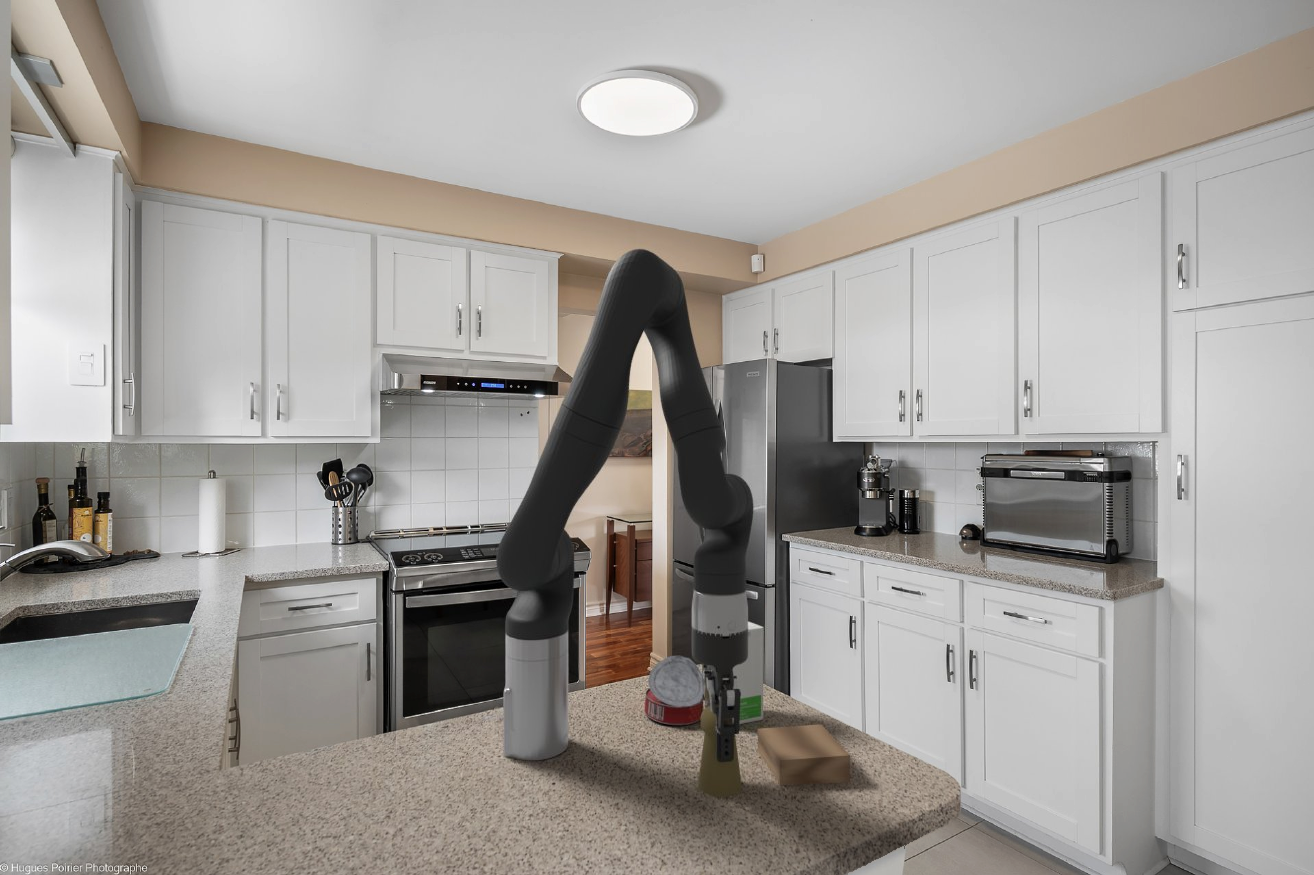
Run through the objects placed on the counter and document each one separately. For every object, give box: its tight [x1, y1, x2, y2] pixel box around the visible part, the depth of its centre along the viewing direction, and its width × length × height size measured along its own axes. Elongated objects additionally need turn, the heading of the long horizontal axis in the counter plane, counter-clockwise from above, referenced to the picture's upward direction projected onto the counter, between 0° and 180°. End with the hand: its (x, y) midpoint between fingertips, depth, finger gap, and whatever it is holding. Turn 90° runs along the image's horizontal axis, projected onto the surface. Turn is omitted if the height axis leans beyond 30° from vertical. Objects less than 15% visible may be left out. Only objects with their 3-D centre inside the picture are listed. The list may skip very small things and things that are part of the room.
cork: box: [697, 704, 743, 799], centre depth 89 cm, size 6×6×11 cm
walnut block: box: [757, 724, 851, 786], centre depth 96 cm, size 10×10×4 cm
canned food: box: [644, 654, 704, 726], centre depth 113 cm, size 11×10×10 cm
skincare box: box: [733, 621, 765, 725], centre depth 113 cm, size 8×7×16 cm
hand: (719, 748), depth 89 cm, fingers open, 5 cm apart
